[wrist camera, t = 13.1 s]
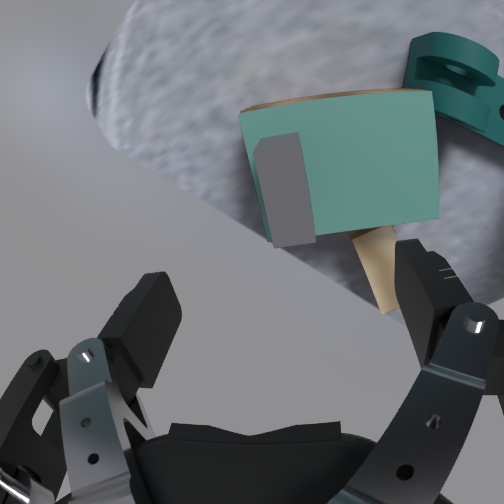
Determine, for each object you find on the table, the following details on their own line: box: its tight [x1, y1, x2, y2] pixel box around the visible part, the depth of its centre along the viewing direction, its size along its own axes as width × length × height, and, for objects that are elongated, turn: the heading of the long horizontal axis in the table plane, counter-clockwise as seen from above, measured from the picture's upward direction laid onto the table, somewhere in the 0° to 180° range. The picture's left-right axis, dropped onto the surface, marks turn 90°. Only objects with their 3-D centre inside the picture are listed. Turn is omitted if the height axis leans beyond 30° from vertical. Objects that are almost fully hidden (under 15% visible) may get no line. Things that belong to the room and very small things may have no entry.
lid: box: [238, 91, 439, 248], centre depth 20 cm, size 14×10×7 cm
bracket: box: [403, 32, 504, 147], centre depth 20 cm, size 18×7×8 cm, turn 81°
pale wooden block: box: [349, 225, 400, 315], centre depth 31 cm, size 4×10×4 cm, turn 29°
